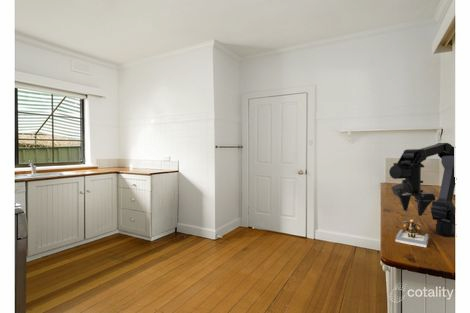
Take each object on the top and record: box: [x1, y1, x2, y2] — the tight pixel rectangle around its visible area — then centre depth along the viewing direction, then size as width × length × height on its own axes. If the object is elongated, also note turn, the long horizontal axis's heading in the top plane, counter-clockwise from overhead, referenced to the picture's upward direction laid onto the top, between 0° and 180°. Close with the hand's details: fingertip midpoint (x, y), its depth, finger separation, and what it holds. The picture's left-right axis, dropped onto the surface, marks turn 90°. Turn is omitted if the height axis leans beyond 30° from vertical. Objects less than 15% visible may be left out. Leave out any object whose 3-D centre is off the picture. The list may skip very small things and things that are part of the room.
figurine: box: [403, 219, 422, 239], centre depth 116 cm, size 5×5×8 cm
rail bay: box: [395, 228, 429, 248], centre depth 115 cm, size 13×11×2 cm
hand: (412, 213), depth 116 cm, fingers open, 9 cm apart
